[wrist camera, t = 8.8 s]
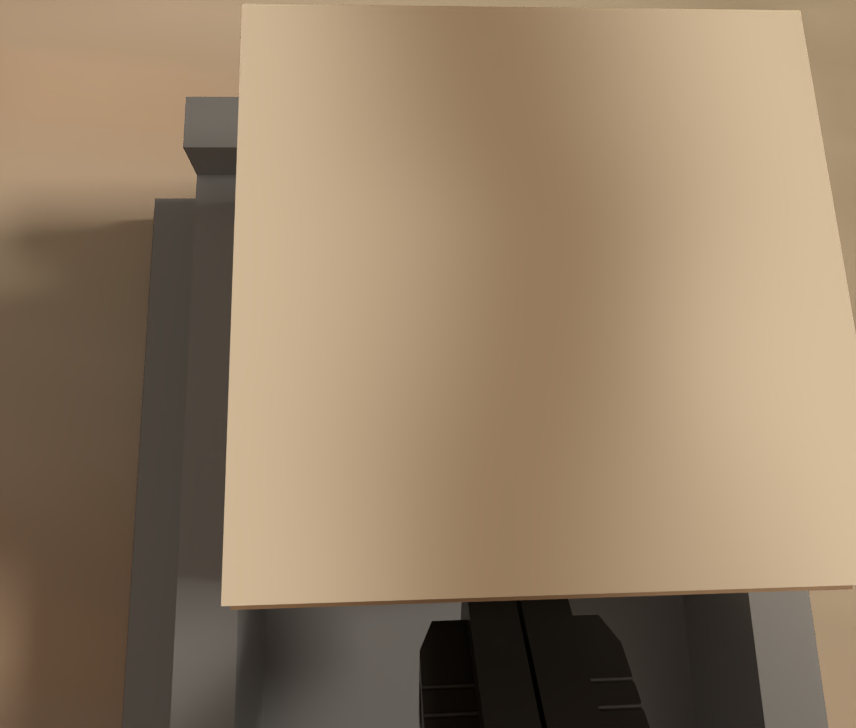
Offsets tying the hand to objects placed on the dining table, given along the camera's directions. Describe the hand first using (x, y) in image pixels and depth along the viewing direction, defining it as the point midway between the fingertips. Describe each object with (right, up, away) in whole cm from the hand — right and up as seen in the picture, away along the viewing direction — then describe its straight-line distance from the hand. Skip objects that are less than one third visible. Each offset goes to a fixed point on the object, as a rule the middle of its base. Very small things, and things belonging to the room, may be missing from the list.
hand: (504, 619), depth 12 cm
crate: (0, +3, +5) cm, 5 cm away
